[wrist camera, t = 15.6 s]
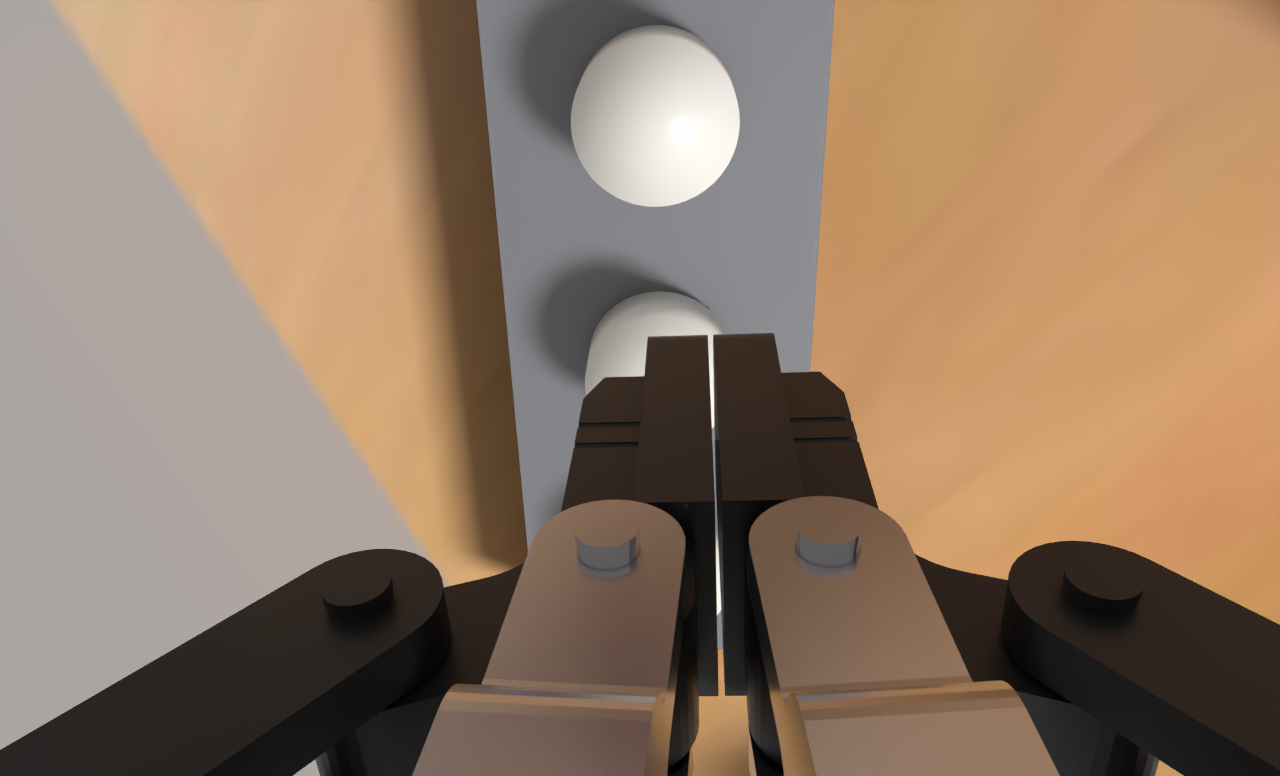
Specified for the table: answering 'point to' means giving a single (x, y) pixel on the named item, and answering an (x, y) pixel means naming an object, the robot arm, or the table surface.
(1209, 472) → the table surface
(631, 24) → the mount
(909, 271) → the table surface
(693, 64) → the knob
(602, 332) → the knob middle
